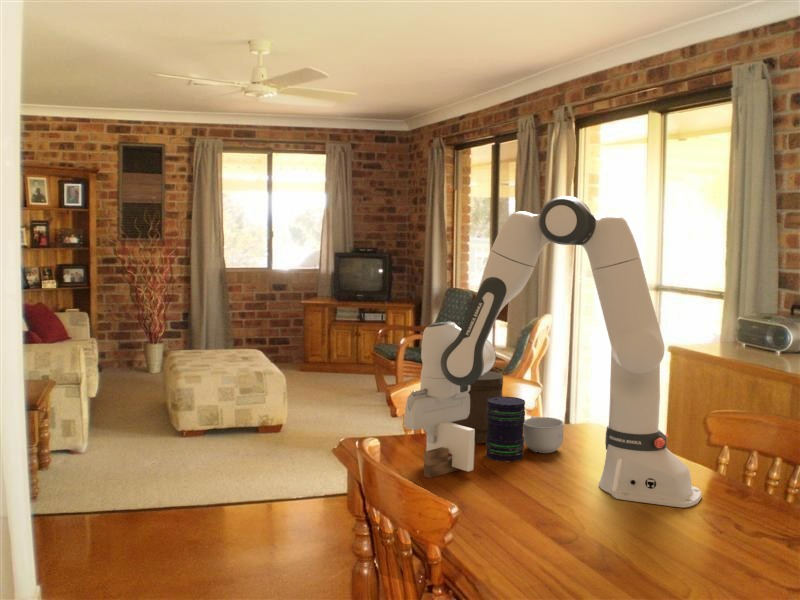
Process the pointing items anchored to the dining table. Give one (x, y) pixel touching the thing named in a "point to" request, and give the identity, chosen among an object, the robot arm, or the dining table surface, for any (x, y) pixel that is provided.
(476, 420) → the wooden container
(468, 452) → the white arch block
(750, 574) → the dining table surface
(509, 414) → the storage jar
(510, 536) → the dining table surface
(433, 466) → the grey notched block
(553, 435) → the teacup
